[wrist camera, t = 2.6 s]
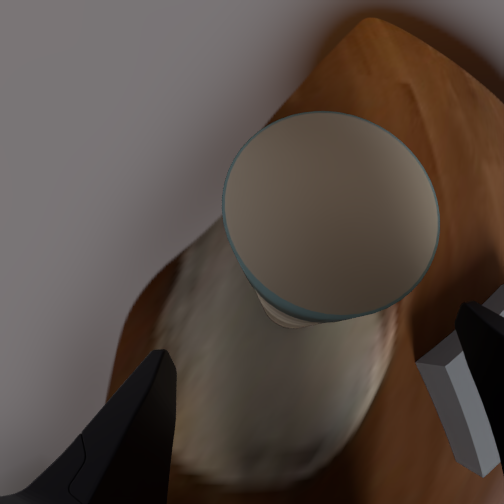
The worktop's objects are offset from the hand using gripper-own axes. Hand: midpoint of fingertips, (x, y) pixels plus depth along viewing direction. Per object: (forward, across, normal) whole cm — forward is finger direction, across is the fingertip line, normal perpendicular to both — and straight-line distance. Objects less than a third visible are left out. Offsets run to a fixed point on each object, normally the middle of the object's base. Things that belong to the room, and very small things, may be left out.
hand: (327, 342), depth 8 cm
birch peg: (+9, 0, +6) cm, 11 cm away
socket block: (+3, -14, +12) cm, 18 cm away
